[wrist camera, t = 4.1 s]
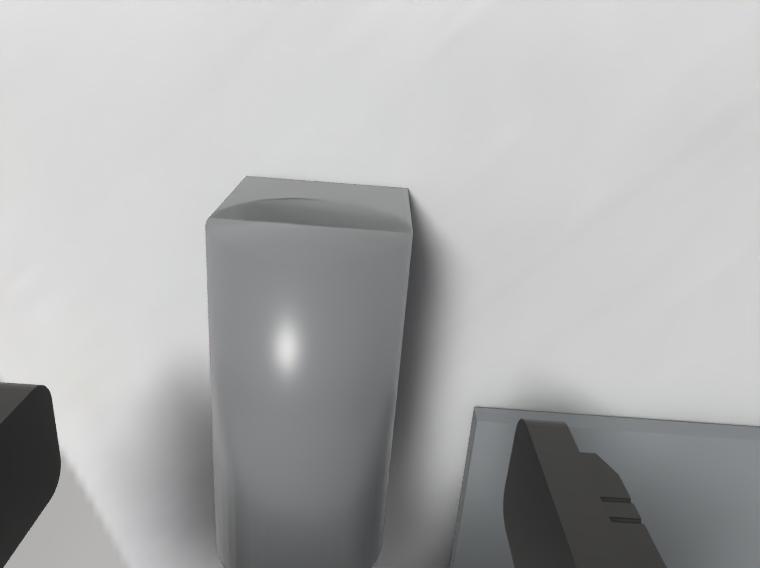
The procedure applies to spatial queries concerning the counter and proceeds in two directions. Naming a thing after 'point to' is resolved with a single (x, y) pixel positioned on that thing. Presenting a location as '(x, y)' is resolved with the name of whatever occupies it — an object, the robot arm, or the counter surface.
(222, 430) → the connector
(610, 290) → the counter surface
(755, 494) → the slate mat
